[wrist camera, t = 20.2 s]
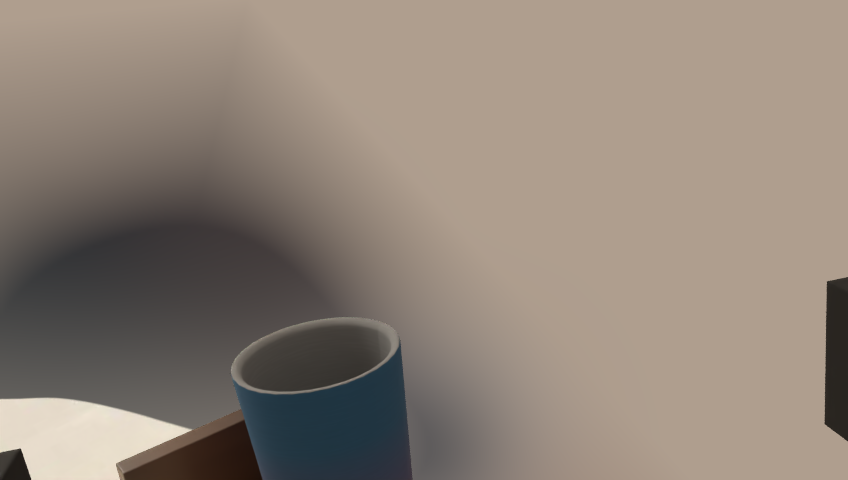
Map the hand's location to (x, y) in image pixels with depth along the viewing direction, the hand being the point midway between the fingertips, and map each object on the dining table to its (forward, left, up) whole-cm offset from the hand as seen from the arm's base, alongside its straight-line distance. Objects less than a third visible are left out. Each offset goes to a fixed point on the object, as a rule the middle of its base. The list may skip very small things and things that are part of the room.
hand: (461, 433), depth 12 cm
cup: (-6, -17, -21) cm, 28 cm away
